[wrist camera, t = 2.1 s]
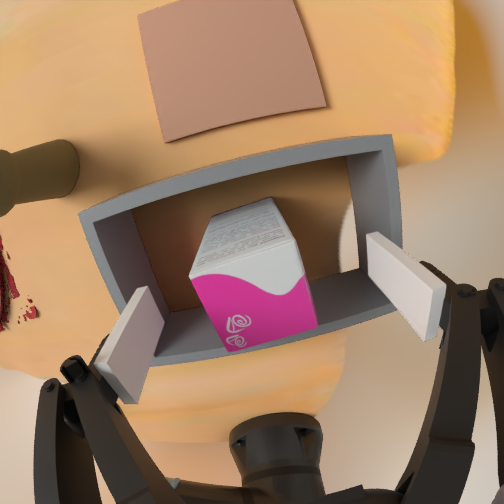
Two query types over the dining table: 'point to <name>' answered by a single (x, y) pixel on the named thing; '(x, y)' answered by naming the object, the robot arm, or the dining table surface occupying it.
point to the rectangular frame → (323, 290)
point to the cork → (37, 173)
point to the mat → (226, 63)
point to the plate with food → (1, 292)
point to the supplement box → (252, 277)
